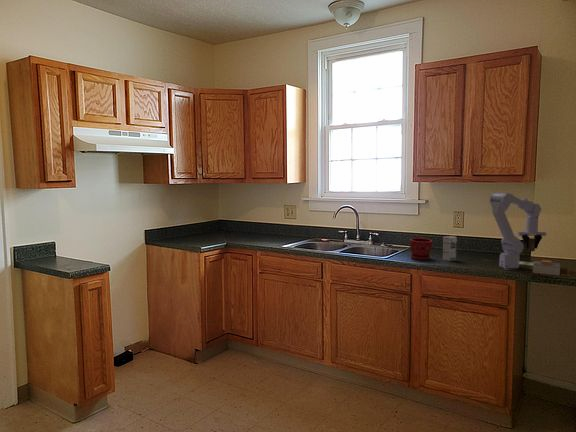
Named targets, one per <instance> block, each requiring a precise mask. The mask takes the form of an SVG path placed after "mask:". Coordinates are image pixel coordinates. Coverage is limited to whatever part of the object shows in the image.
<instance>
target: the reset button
mask: <svg viewBox="0 0 576 432" xmlns="http://www.w3.org/2000/svg"><path fill="white" fill-rule="evenodd" d="M541 261H542V264H545V265H552V262H553V261H552V260H549V259H548V260H547V259H542V260H541Z"/></svg>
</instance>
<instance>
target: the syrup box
mask: <svg viewBox="0 0 576 432" xmlns="http://www.w3.org/2000/svg"><path fill="white" fill-rule="evenodd" d="M457 246H458V237H457V236H453V235H449V236H448V235H447V236H443V237H442V260H444V261H448V262H452V261H457V257H458V256H457V254H458V253H457V250H458V249H457V248H458V247H457Z"/></svg>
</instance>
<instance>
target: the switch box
mask: <svg viewBox="0 0 576 432" xmlns="http://www.w3.org/2000/svg"><path fill="white" fill-rule="evenodd" d="M533 263H534V265H533V267H532V268H533V269H532V273H533V274H538V273H539V274H540V275H548V276H549V275H550V276H551V275H552V276H560V274H561V264H560V262H554V261H552V265H545V264H542V260H534V261H533Z"/></svg>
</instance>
